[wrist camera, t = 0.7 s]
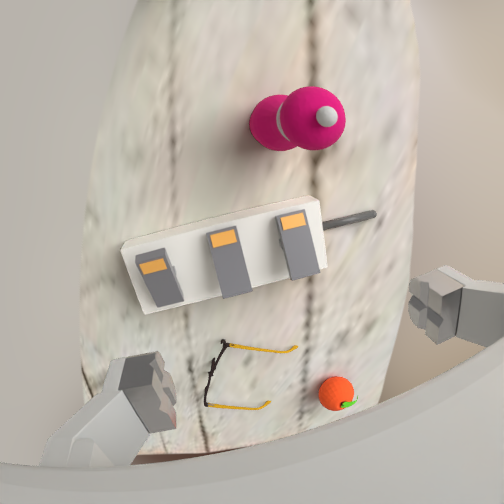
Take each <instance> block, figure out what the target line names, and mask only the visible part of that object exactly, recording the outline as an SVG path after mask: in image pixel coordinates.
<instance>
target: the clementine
mask: <svg viewBox="0 0 504 504" xmlns="http://www.w3.org/2000/svg"><path fill="white" fill-rule="evenodd" d="M353 396H354V389H353V387H352V384H351V383H350V382H349V381H348V380H347V379H345V378H343V377H332V378H329V379H327V380H326V381H325V382H324V383H323V384H322V385H321V387H320V389H319V400H320V402H321V404H322V405H323V406H324V407H325V408H327V409H329V410H332V411H338V410H342V409H344V408H346V407H349V406H351V405H353V404H354V403H355V402H356V401H357V400H356V401H353V402H352V399H353ZM357 399H358V396H357Z"/></svg>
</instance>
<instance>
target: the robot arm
mask: <svg viewBox="0 0 504 504" xmlns="http://www.w3.org/2000/svg"><path fill="white" fill-rule="evenodd" d="M409 292H410V293H411V294H412V297H411V299H410V301H409V315H410V318H411V320H412V322H413V323H414V324H415V325H416V326H417V327H418V328H421V329H425V331H426V332H425V333H426V335H427V336H428V337H429V338H430V339H431V340H432V341H433V342H435V343H436V344H440V343H442V342H444V341H446V340H448V339H450V338H452V337H454V336H456V337H458V338H461V339H464V340H467V341H470V342H472V343H476V344H478V345H481V346H484V347H487V348H485V349H484V350H482V351H480V352H479V353H477V354H475V355H474V356H472V357H470V358H469V359H467V360H465V361H464V362H462V363H460V364H458V365H457V366H455V367H453V368H451V369H450V370H448V371H446V372H444V373H442V374H440V375H438V376H436V377H435V378H433V379H431V380H429V381H427V382H425V383H423V384H421V385H419V386H417V387H415V388H413V389H411V390H408V391H406V392H404V393H402V394H400V395H398V396H396V397H393V398H391V399H389V400H387V401H384V402H382V403H380V404H377V405H375V406H373V407H370V408H368V409H365V410H363V411H360V412H358V413H355V414H353V415H350V416H348V417H345V418H342V419H339V420H337V421H334V422H331V423H328V424H325V425H323V426H320V427H317V428H314V429H310V430H307V431H304V432H301V433H298V434H295V435H291V436H288V437H284V438H281V439H277V440H274V441H270V442H266V443H262V444H258V445H254V446H250V447H246V448H241V449H237V450H232V451H228V452H223V453H218V454H213V455H208V456H202V457H196V458H190V459H183V460H176V461H169V462H161V463H152V464H141V465H130V464H131V463H132V461H133V460H134V458H135V456H136V455H137V454H138V452H139V450H140V449H141V447H142V446H143V444H144V443H145V441H146V440H147V438H148V437H149V435H150V434H149V433H155V432H161V431H166V430H172V429H176V411H175V409H174V407H173V406H174V404H175V403H176V391H175V386H174V383H173V380H172V378H171V375H170V373H168V372H167V371H165V370H164V363H165V362H164V360H163V358H162V356H161V354H160V353H159V352H158V351H156V352H151V353H145V354H140V355H134V356H129V357H123V358H118V359H113V360H112V361H111V362H110V365H109V368H108V372H107V375H106V378H105V382H104V385H103V388H102V392H101V393H99V394H96V395H95V396H94V397H93V398H92V399H91V400H90V401H89V402H87V403H86V404H85V405H84V406H83V407H82V408H81V409H80V410H79V411H78V412H77V413H75V414H74V416H72V417H71V418H70V419H69V420H68V421H67V422H66V423H65V424H63V426H62V427H60V428H59V429H58V430H57V431H56V432H55V433H54V434H53V435H52V436H50V437H49V438H48V440H47V443H46V446H45V449H44V452H43V455H42V458H41V461H40V464H39V466H29V465H18V464H9V463H1V462H0V504H504V283H498V282H490V281H483V280H477V281H474V280H473V279H471V278H469V277H468V276H466V275H464V274H462V273H460V272H459V271H457V270H455V269H453V268H451V267H450V266H446V265H444V266H442V267H439V268H437V269H435V270H433V271H430V272H428V273H426V274H423V275H420V276H418V277H416V278H413V279H411V280H410V283H409Z"/></svg>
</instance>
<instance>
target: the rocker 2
mask: <svg viewBox="0 0 504 504" xmlns="http://www.w3.org/2000/svg"><path fill="white" fill-rule="evenodd" d="M206 234H207V238H208V242H209V246H210V250H211V254H212V258H213V262H214V266H215V270H216V274H217V278H218V281H219V285H220V289H221V293H222V297H223V299H225V298H228V297H232V296H236V295H240V294H244V293H248V292H252V291H253V290H252V286H251V282H250V278H249V275H248V271H247V267H246V263H245V259H244V255H243V251H242V247H241V243H240V239H239V235H238V231H237V227H236V226H232V227H228V228H224V229H220V230H216V231H212V232H208V233H206Z"/></svg>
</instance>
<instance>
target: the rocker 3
mask: <svg viewBox="0 0 504 504" xmlns="http://www.w3.org/2000/svg"><path fill="white" fill-rule="evenodd" d="M275 220H276V224H277V228H278V232H279V236H280V240H281V244H282V248H283V252H284V256H285V260H286V264H287V269H288V273H289V277H290V280H296V279H300V278H303V277H307V276H310V275H314V274H317V273H320V269H319V265H318V260H317V256H316V252H315V248H314V244H313V240H312V236H311V232H310V228H309V224H308V220H307V216H306V212H305V209H302V210H298V211H294V212H290V213H285V214H281V215H277V216H275Z"/></svg>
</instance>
